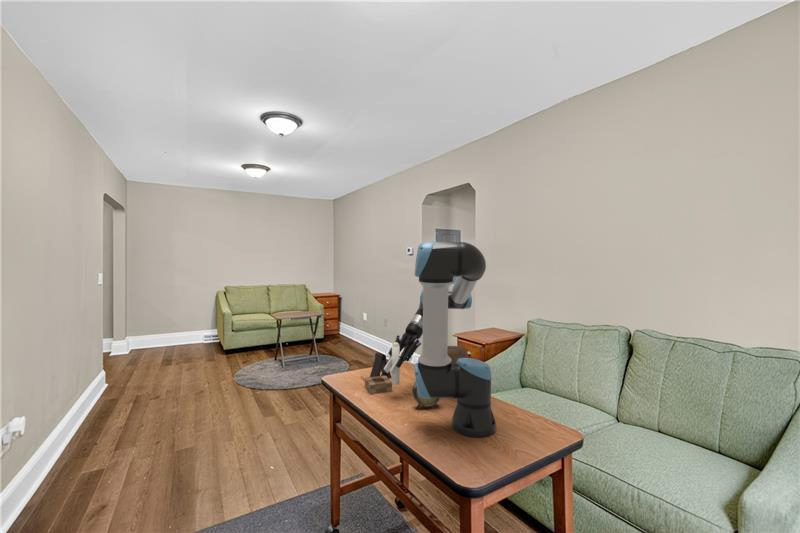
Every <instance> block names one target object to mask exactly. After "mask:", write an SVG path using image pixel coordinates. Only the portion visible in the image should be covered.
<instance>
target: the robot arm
mask: <svg viewBox="0 0 800 533" xmlns="http://www.w3.org/2000/svg"><path fill="white" fill-rule="evenodd" d="M486 262H487V261H486V259H485V256H484V254H483V253H482V252H481V250H479V248H478V247H476V246H475V245H473V244H472V243H469V242H466V241H465V242H464V241H463V242H462V241H427V242H421V243H420V244H419V245H418V248H417V252H416V258H415V264H414V266H415V268H414V276H415V277H417V278H418V283H420V285H421V286H422V291H421V293H420V296H419V305H418V309H417V310H416V312H415V313H414V315H413V317H412V318H411V320H410V321H409V323H408V324H407V326H406V328H405V332H404V333H403V334H402V335H396V338H395V341H394V342H397V343H399V346H400V356H399V358H400V359H399V358H397V360H396V362H395V363H394V365H393V366H392V347H391V348H390V350H389V352H388V354H389V359H388V360H386V362H387V364H386V366H385V367H384V370H385V371H386V372H387V373H388V372H389V371H390V374H391V375H392V374H393V375H395V373H396V372H397V370H398V368H401V367H402V365H403V363H405V362H409V361H410V360H411V358H412V356H413V355H414V353H415V352H416V351H417V349H418V348H419V347H420V346H421V345H422V354H421V355H420V356H419V357H418V359H417V362H416V363H414V364H413V368H414V370H413V371H414V376H415V382H416V386H417V393H418V395H419V397H421V398H430V399H432V398H440V399H456V405H455V409H454V412H453V414H452V418H451V427H452V429H453V430H454V431H455V432H457V433H459V434H461V435H463V436H466V437H471V438H485V437H489V436H492V435H493V434H494V433H495V432H496V430H497V423H496V419H495V416H494V412H493V410H492V409H493V408H492V379H493V378H492V369H491V367H490V365H489V364H488V363H486V362H484V361H482V360H479V359H477V358H470V357H468V358H459V359H458V360H457V363H452V360H451V358H450V357H449V356H448V355H447V346H448V335H449V334H448V333H449V330H448V329H449V328H448V327H449V326H448V325H449V323H448V321H449V310H450V309H451V310H466V309H468V310H469V309H471V307H472V303H473V299H472V298H473V296H472V292H473V289H474V287H475V286H476V283H477V282H478V281H479V280H480V279H481V278H482V277H483V276H484V274H485V272H486V267H487V263H486ZM454 277H456V278H455V280H454ZM453 283H454V284H453ZM452 284H453V286H452V288H451V291H450V290H449V287H450V286H451V285H452ZM421 337H422V342H421V341H420V339H421Z"/></svg>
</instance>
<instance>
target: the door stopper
mask: <svg viewBox="0 0 800 533" xmlns="http://www.w3.org/2000/svg"><path fill="white" fill-rule="evenodd" d="M386 364H387V355H386V354H383V353H381V352H376V353H375V355H374V361H373V365H372V368H371V372H370V375H369V377H376V376H380V375H381V376H385V375H386V376H387V377H388V378H389V379H392V373H391V372H390V371H389V372H388V373H387V372H386V371H385V370H384V367H385V366H386Z"/></svg>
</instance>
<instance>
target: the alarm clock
mask: <svg viewBox="0 0 800 533" xmlns="http://www.w3.org/2000/svg"><path fill="white" fill-rule="evenodd" d="M412 396H413V398H414V400H415V401H416V403H418V404H417V406H416V407H415V409H416V410H417V409H419V407H420V406H421V407H425V408H426V407H427V408H428V407H432V406H434V405H435V406H436V407H439V404H438V402H439V401H440V399H441V398H432V399H430V398H421V397H419V395H418V393H417V386H416V381H415V382H414V384H413V386H412Z"/></svg>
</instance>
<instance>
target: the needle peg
mask: <svg viewBox="0 0 800 533" xmlns="http://www.w3.org/2000/svg"><path fill="white" fill-rule="evenodd" d="M391 348H392V366H393V365H394V363H395V362H396V360H397V358H399V356H401V352H400V346H399V343H397V342H395V341H394V342H392V345H391ZM399 359H400V358H399ZM400 368H401V367H400ZM400 368H398V370H397V372H396V373H395V375H393V374H392V373H391V382H392V386H393V385H394V386H398V385H400Z"/></svg>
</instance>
